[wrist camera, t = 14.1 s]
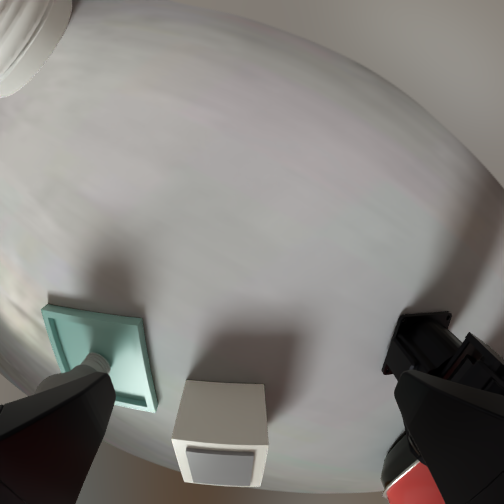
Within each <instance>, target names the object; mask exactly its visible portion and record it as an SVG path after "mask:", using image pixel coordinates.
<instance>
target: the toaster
mask: <svg viewBox="0 0 504 504" xmlns="http://www.w3.org/2000/svg"><path fill="white" fill-rule="evenodd" d="M381 481H382V484H383V487H384V491H383V493H382V496H383V497H384V498H387V499H388V501H389V504H445V502H444V500H443V498H442V495H441V493H440V491H439V489H438V487H437V485H436V483H435V481H434V479H433V477H432V475H431V473H430V471H429V469H428V467H427V466H426V465H424V464H422V463H421V462H420V461H419V460H417V458H416V457H415V456H414V455H413V454H412V453H411V452H410V448H409V444H408V439H407V435H405V436H404V437H403V438H402V439H401V440H400V441H399V442H398V443H397V444H396V445H395V446H394V447H393V449H392V450H391V451H390V452H389V454H388V455H387V456H386V458H385V460H384V465H383V469H382V474H381Z"/></svg>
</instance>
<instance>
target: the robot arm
mask: <svg viewBox="0 0 504 504" xmlns="http://www.w3.org/2000/svg"><path fill="white" fill-rule="evenodd" d="M451 317H452V314H451V313H450V312H448V311H445V312H434V313H421V314H406V315H402V316H400V318H399V320H398V323H397V326H396V329H395V333H394V336H393V339H392V341H391V344H390V347H389V350H388V353H387V356H386V359H385V362H384V365H383V368H382V372H383V374H384V375H389V374H394V376H395V377H396V379H397V380H398V383H397V385H396V388H395V391H394V396H395V399H396V402H397V404H398V407H399V409H400V411H401V414H402V418H403V422H404V426H405V430H406V435H407V439H408V444H409V448H410V452H411V453H412V454H413V455H414V456H415V457H416V458H417V460H419V461H420V462H421V463H422V464H424V465H426V466H427V467H428V469H429V471H430V473H431V475H432V477H433V479H434V481H435V483H436V485H437V487H438V489H439V491H440V493H441V495H442V498H443V500H444V502H445V504H504V360H503V359H502V358H501V357H500V356H499V355H498V354H497V353H496V352H495V351H494V350H492V349H491V348H490V347H489V346H488V345H487V344H485V343H484V342H482V341H481V340H480V339H478V338H477V337H476V336H474V335H473V334H472V333H470V332H469V333H468V334H467V336H466V337H465V338H466V339H465V340H464V342H463V343H462V342H461V341H460V340H459V339H458V338H457V337H456V336H455V335H454V334H453V333H452V332H450V331H449V330H448V326H449V323H450V320H451ZM403 320H405V321H404V322H403ZM387 369H388V370H387ZM115 400H116V392H115V389H114V386H113V384H112V381H111V378H110V375H109V374H108V373H104V372H99V371H96V372H93V373H91V374H88V375H86V376H83V377H80V378H78V379H75V380H73V381H70V382H67V383H64V384H62V385H59V386H56V387H54V388H51V389H48V390H45V391H42V392H39V393H37V394H34V395H31V396H28V397H25V398H22V399H19V400H16V401H13V402H10V403H7V404H5V405H0V504H75V503H76V501H77V498H78V496H79V493H80V491H81V488H82V486H83V483H84V481H85V479H86V476H87V474H88V471H89V469H90V467H91V464H92V462H93V460H94V457H95V455H96V453H97V451H98V448H99V446H100V444H101V442H102V439H103V437H104V435H105V432H106V429H107V426H108V422H109V419H110V416H111V413H112V410H113V406H114V403H115Z"/></svg>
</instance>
